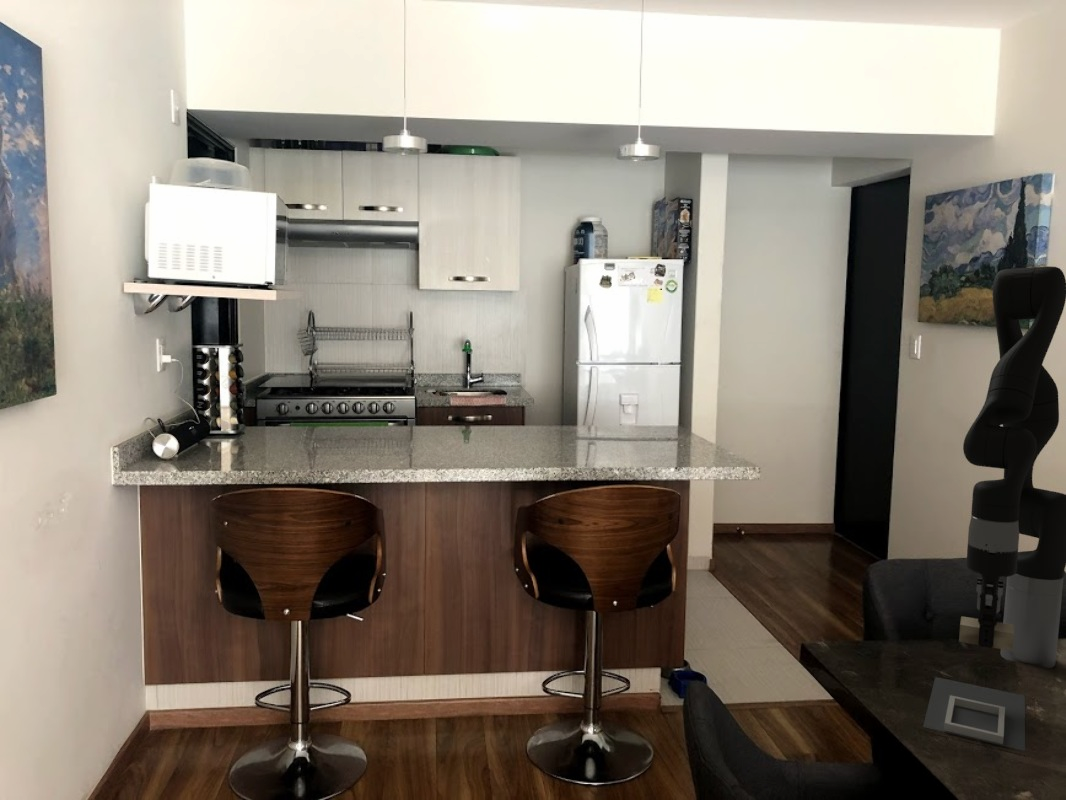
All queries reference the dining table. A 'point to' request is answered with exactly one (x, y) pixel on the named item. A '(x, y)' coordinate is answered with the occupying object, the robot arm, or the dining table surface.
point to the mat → (976, 718)
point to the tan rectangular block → (1001, 633)
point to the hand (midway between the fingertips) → (985, 640)
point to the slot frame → (970, 730)
